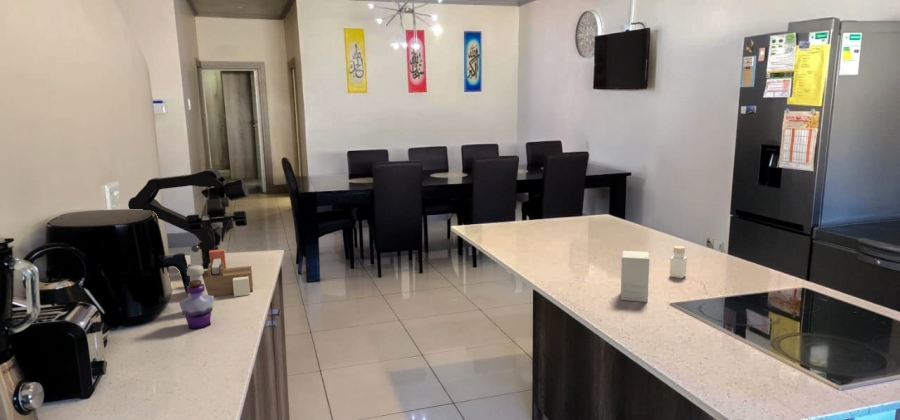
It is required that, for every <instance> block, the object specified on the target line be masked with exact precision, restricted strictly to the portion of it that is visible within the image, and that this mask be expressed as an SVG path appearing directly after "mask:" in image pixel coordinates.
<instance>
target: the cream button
mask: <svg viewBox="0 0 900 420" xmlns="http://www.w3.org/2000/svg"><path fill="white" fill-rule="evenodd" d="M233 289H234V294H233V297H243V296H250V294H251V292H250V287H249V276H247V277H238V278H233Z"/></svg>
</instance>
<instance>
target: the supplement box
mask: <svg viewBox="0 0 900 420" xmlns="http://www.w3.org/2000/svg"><path fill="white" fill-rule="evenodd" d="M620 268H621V276H620V278H621V279H620V301H628V302H629V301H631V302H643V303H644V302H645V303H648V299H649V283H650V282H649V276H650V254H649V252H648V251H637V250H636V251H635V250H634V251H633V250H632V251H629V250H623V251H622V254H621V267H620Z"/></svg>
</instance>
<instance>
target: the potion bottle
mask: <svg viewBox="0 0 900 420" xmlns="http://www.w3.org/2000/svg"><path fill="white" fill-rule="evenodd" d="M201 282H202V281H201V280H193V281H190V282H189V286H187V285H186V293H187V294H188V293H190V295H191V296H190V297H188V296H187V297H185V298H182V299H181V300H180V301H179V306H180V310H181V312H182V314H183V315H184V317H185V320H186V323H187V325H188V329H190V330H194V331H195V330H201V329H205V328H208V327H210V326H212V325H211V323H212V322H211V317H212V312H213V307H214V299H215V296H210V295H202V292H203V291H205V287H204V284H201Z"/></svg>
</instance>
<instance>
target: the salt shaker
mask: <svg viewBox="0 0 900 420" xmlns="http://www.w3.org/2000/svg"><path fill="white" fill-rule="evenodd" d="M187 268H188V269H187ZM187 268H186V270H187V272H186V275H187V276H190V281H193V280H201V281H202V282H201V284H204V287H205V283H204V280H203V277H202V274H203V273H204V271H205V270H204V269H205V268H203V267H202V266H201V265H193V266H191V265H190V266H188V267H187ZM202 295H208V293H207V290H206V287H205V291H203V292H202ZM190 296H191V295H190V293H187V298H188V297H190Z"/></svg>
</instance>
